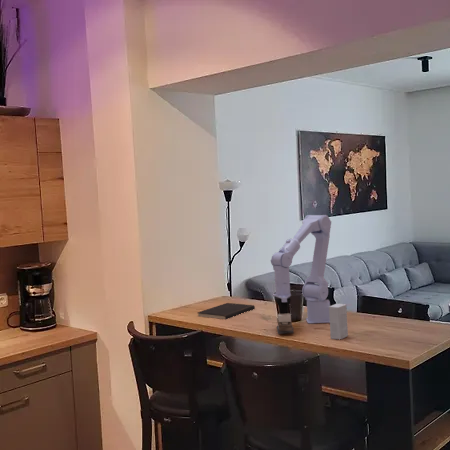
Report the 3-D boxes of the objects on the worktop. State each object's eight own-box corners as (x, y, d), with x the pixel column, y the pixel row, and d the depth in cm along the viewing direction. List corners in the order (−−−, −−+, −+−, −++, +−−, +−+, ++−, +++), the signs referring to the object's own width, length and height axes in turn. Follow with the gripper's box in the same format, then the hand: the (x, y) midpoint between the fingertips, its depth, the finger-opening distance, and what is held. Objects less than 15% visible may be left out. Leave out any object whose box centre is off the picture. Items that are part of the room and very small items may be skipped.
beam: (291, 326, 234) (290, 316, 234) (294, 335, 220) (293, 324, 220) (276, 327, 234) (275, 317, 234) (278, 336, 220) (277, 325, 220)
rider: (290, 321, 228) (289, 313, 227) (291, 324, 224) (290, 315, 223) (278, 322, 228) (278, 313, 228) (279, 324, 224) (278, 316, 224)
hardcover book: (197, 317, 263) (197, 312, 263) (227, 307, 281) (227, 302, 281) (225, 320, 253) (225, 315, 253) (255, 310, 272) (254, 305, 272)
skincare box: (337, 334, 218) (336, 303, 217) (348, 336, 215) (346, 304, 214) (329, 338, 213) (328, 306, 212) (340, 340, 210) (338, 307, 209)
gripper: (271, 280, 235) (273, 313, 236) (273, 286, 221) (274, 321, 222) (288, 279, 235) (290, 312, 236) (291, 285, 221) (293, 320, 222)
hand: (284, 317), depth 229 cm, fingers closed
